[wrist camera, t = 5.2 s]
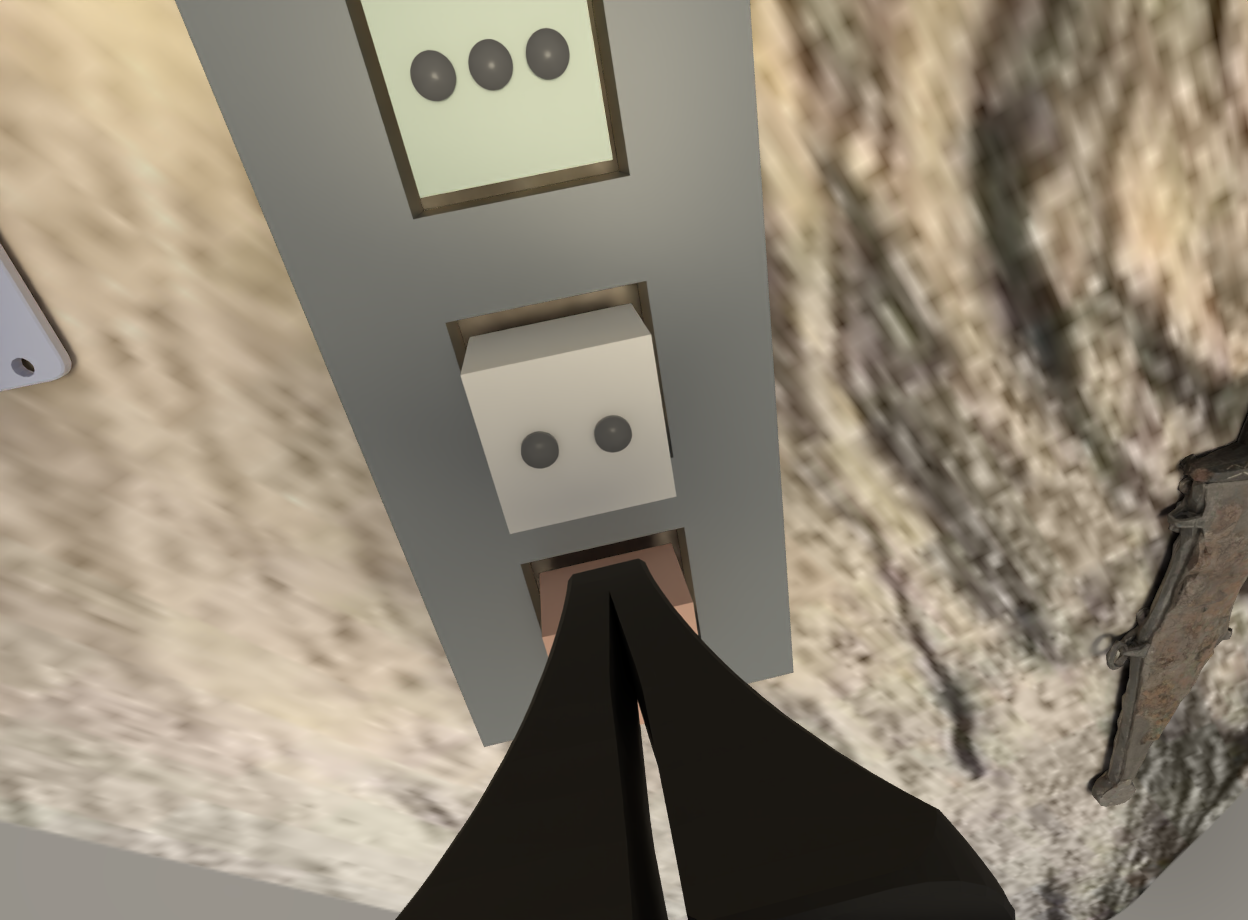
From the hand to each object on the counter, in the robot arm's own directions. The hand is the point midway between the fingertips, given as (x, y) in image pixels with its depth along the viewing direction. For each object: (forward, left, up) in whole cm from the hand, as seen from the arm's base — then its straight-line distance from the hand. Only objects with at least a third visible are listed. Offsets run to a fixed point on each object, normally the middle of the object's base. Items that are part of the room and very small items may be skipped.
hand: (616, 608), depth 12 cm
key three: (0, +9, -10) cm, 13 cm away
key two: (0, +1, -8) cm, 8 cm away
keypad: (0, +1, -10) cm, 10 cm away
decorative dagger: (+24, -14, -11) cm, 30 cm away
